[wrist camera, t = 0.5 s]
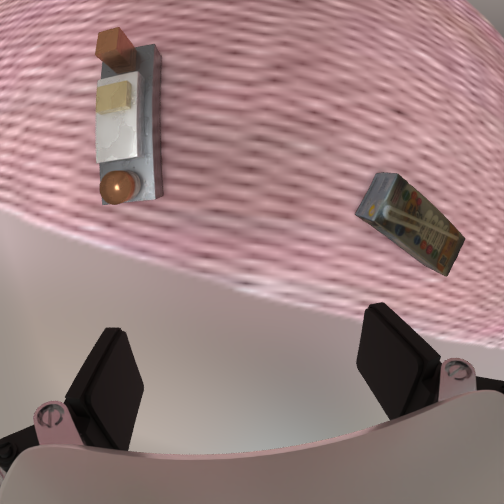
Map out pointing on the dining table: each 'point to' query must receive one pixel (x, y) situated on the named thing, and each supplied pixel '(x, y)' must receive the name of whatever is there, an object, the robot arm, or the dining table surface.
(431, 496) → the robot arm
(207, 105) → the dining table surface
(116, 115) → the white box
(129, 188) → the plane body
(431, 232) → the beverage carton
